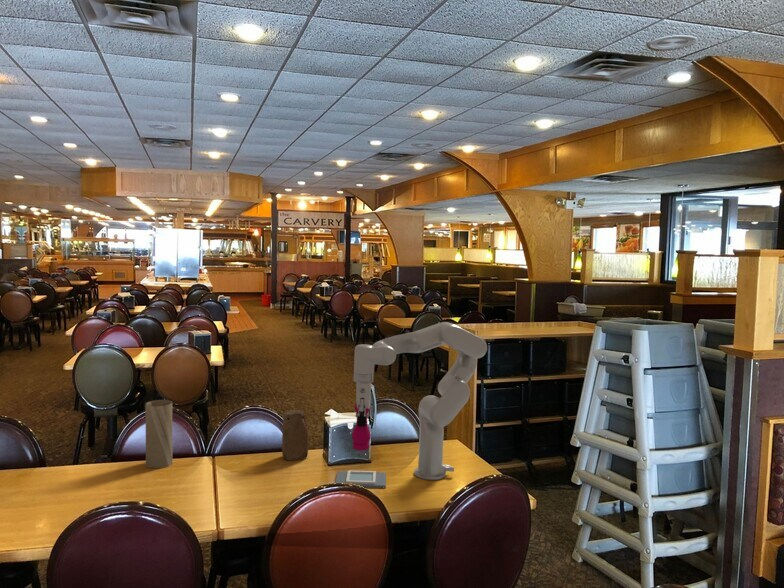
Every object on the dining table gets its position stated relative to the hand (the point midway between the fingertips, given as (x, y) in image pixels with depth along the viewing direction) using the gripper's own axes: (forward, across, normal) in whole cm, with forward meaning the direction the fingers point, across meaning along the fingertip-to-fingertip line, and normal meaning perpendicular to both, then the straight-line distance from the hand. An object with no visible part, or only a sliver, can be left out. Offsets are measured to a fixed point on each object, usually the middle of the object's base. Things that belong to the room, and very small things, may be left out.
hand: (361, 423), depth 236 cm
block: (+23, +23, +28) cm, 43 cm away
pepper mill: (+10, 0, 0) cm, 10 cm away
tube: (+24, +11, +81) cm, 85 cm away
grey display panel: (+22, 0, -1) cm, 22 cm away
